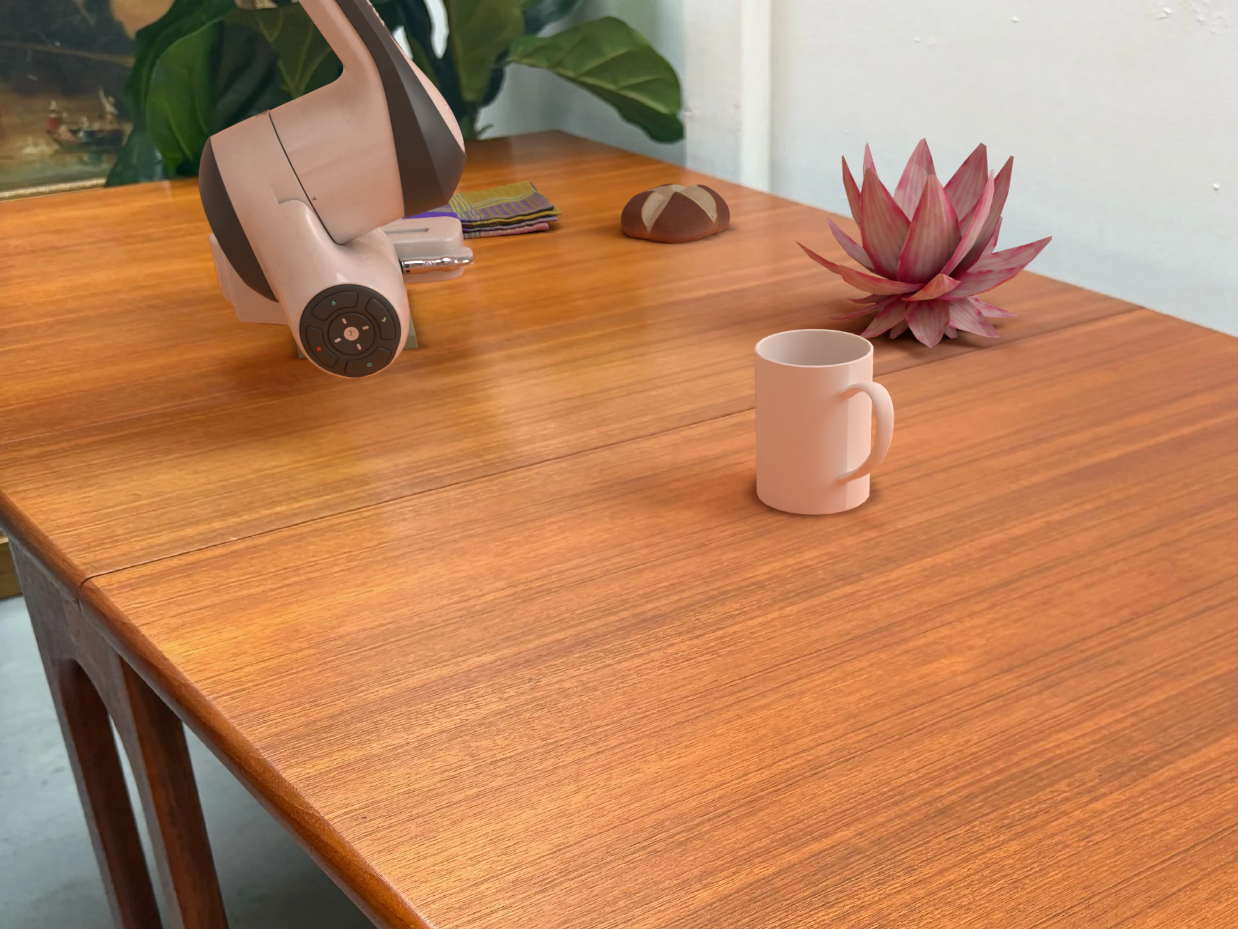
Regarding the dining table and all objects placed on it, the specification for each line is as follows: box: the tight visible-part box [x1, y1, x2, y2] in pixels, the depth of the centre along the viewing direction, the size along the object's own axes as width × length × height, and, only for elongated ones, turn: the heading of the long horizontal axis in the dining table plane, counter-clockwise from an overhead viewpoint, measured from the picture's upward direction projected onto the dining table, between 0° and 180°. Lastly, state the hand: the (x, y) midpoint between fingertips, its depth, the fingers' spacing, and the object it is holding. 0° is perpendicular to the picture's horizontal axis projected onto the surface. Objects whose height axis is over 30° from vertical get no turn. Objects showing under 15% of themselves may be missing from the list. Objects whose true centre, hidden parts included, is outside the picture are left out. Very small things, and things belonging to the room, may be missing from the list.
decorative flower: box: [795, 137, 1053, 349], centre depth 132 cm, size 21×21×15 cm
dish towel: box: [402, 180, 563, 240], centre depth 168 cm, size 18×24×3 cm
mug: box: [753, 328, 895, 516], centre depth 101 cm, size 12×8×10 cm, turn 34°
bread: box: [620, 183, 731, 244], centre depth 164 cm, size 11×11×5 cm
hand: (338, 230), depth 129 cm, fingers open, 8 cm apart
